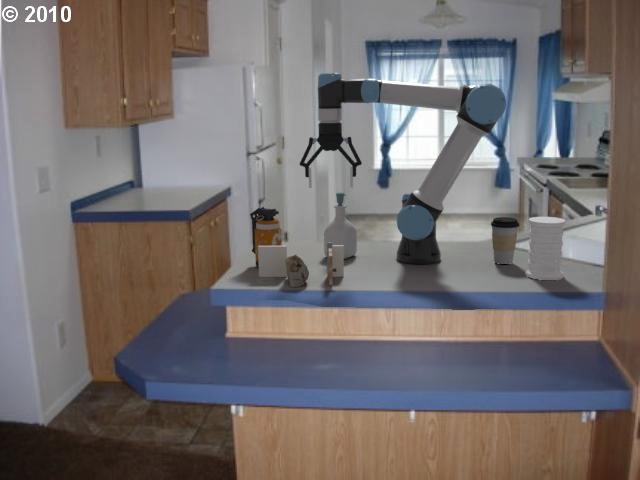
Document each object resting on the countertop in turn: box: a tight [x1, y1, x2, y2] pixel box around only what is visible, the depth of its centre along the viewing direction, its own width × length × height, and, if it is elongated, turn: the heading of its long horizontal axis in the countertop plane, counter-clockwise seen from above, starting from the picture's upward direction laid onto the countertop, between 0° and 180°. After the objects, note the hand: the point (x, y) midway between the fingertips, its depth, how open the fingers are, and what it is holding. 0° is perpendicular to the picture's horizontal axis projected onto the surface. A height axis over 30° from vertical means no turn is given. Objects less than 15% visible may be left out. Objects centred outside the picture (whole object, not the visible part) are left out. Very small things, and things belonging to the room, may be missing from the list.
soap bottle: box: [323, 192, 358, 260], centre depth 258 cm, size 10×10×23 cm
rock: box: [285, 254, 310, 288], centre depth 228 cm, size 12×7×10 cm, turn 5°
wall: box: [258, 242, 345, 278], centre depth 233 cm, size 27×2×11 cm, turn 88°
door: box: [328, 248, 336, 286], centre depth 226 cm, size 11×2×9 cm, turn 0°
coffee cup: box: [490, 216, 521, 265], centre depth 247 cm, size 9×9×15 cm
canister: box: [249, 206, 283, 268], centre depth 247 cm, size 9×11×20 cm
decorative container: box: [524, 216, 566, 281], centre depth 229 cm, size 12×12×18 cm
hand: (330, 187), depth 242 cm, fingers open, 13 cm apart
